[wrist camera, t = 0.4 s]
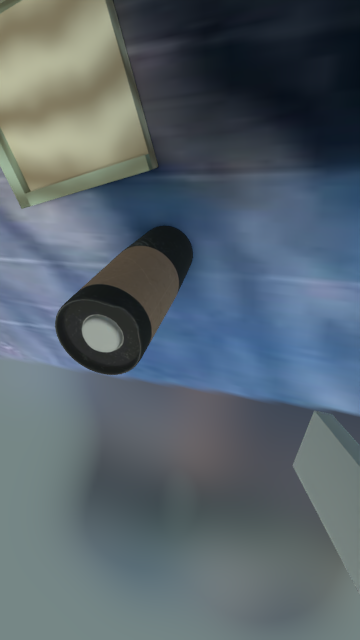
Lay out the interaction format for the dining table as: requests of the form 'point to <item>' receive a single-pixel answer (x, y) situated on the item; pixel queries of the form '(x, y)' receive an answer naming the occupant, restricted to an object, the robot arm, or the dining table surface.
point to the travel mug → (125, 303)
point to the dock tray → (67, 100)
